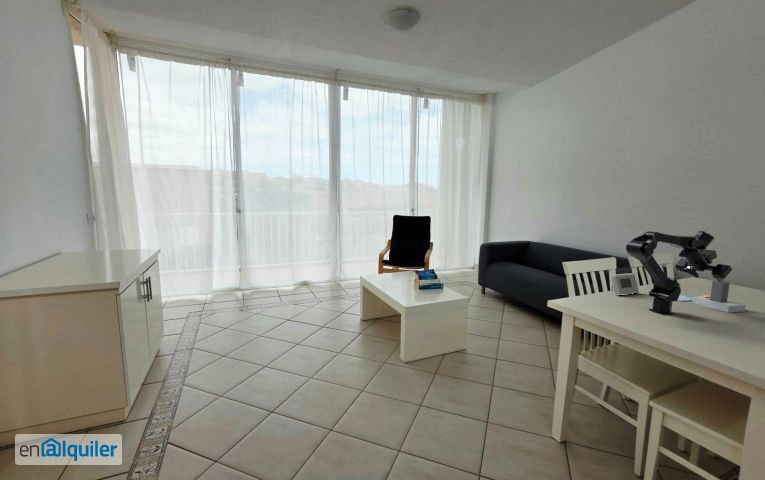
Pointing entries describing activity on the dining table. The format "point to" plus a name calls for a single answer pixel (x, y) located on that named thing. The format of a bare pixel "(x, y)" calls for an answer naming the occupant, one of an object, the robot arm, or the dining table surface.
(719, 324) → the dining table surface
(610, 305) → the dining table surface
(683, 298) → the pad
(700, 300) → the white flat block
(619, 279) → the digital clock
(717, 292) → the plug
